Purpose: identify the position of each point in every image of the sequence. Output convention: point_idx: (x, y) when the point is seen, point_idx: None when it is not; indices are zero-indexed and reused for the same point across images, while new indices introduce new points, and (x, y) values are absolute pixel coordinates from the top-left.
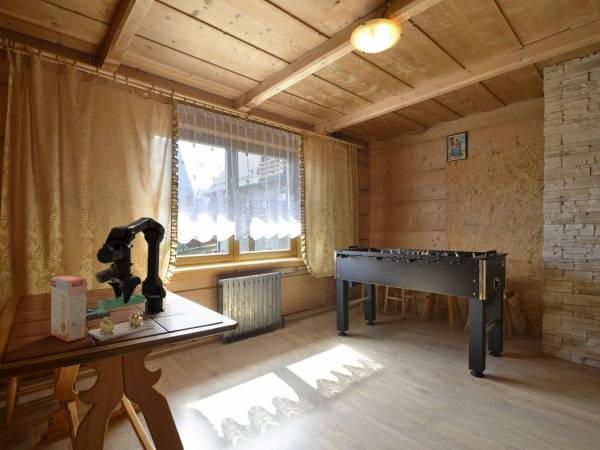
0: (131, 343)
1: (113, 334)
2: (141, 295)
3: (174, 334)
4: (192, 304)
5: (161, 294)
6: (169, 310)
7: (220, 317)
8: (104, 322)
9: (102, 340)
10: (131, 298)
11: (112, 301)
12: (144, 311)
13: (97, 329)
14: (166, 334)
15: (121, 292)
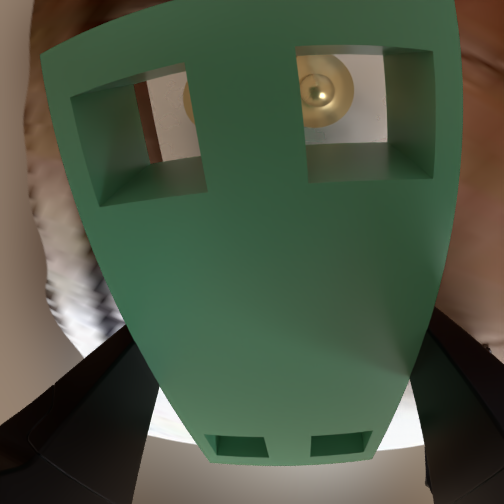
0: (37, 168)
1: (165, 108)
2: (255, 462)
3: (73, 316)
4: (397, 446)
5: (426, 459)
6: (411, 405)
7: (184, 440)
8: (299, 78)
9: None
10: (171, 402)
11: (84, 195)
12: (487, 348)
13: (373, 56)
14: (83, 301)
15: (428, 425)
